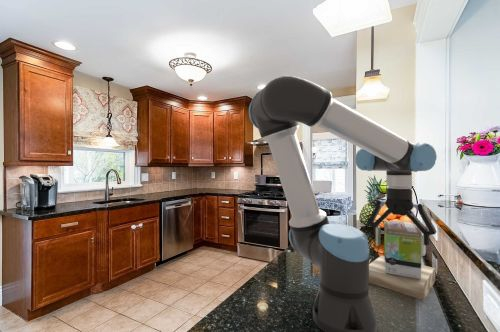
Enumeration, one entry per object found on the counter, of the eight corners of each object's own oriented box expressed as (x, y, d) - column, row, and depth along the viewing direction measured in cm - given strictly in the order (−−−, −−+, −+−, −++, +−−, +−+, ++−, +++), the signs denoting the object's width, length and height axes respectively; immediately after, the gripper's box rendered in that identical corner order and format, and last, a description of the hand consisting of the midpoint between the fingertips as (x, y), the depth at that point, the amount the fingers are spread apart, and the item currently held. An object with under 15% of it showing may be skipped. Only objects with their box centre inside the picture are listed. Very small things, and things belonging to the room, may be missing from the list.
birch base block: (423, 302, 72) (423, 285, 72) (364, 282, 84) (364, 268, 84) (435, 282, 84) (435, 268, 84) (381, 268, 96) (381, 255, 96)
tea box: (422, 280, 75) (422, 231, 75) (385, 273, 79) (384, 228, 79) (415, 262, 88) (415, 221, 88) (383, 258, 93) (383, 219, 93)
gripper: (447, 189, 77) (447, 256, 77) (365, 185, 96) (366, 239, 96) (442, 190, 72) (443, 262, 72) (357, 186, 90) (358, 243, 90)
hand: (399, 249), depth 84 cm, fingers open, 13 cm apart
